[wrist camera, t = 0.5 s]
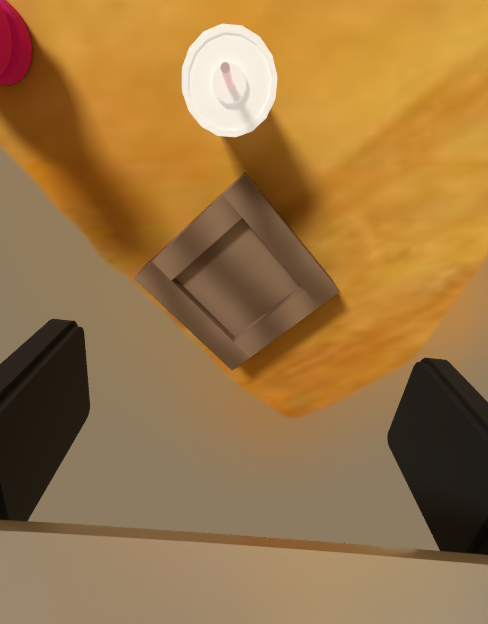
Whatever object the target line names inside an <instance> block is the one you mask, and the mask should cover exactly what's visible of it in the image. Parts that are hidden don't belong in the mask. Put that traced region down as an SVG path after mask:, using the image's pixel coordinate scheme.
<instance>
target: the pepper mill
mask: <svg viewBox="0 0 488 624" xmlns="http://www.w3.org/2000/svg"><path fill="white" fill-rule="evenodd" d="M31 60H32V44H31V39H30V35H29V32H28V29H27V27H26V25H25V23H24V21H23V19H22V18H21V16H20V15H19V14H18V12H17V11H16V10H15V9H14V8H13V7H12V6H11V5H10V4H9V3H8V2H7V1H6V0H0V86H8V85H12V84H15V83H17V82H19V81H20V80H21V79H22V78H23V77H24V76H25V75H26V74H27V72H28V70H29V67H30V65H31Z"/></svg>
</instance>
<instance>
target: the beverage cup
mask: <svg viewBox="0 0 488 624" xmlns="http://www.w3.org/2000/svg"><path fill="white" fill-rule="evenodd" d="M276 86H277V73H276V69H275V65H274V61H273V57H272V54H271V53H270V51H269V50H268V48H267V47H266V45H265V44H264V42H263V41H262V39H261V38H260V37H259V36H258V35H256V34H255V33H253V32H251V31H250V30H248V29H247V28H245V27H243V26H240V25H230V24H221V25H218V26H216V27H213V28H211V29H209V30H206V31H204V32H203V33H202V34H201V35H200V36H199V37H198V38H197V40H196V41H195V42H194V43H193V44H192V45H191V46H190V47H189V50H188V53H187V56H186V59H185V61H184V64H183V67H182V92H183V95H184V98H185V101H186V104H187V107H188V110H189V112H190V113H191V114H192V115H193V117H194V118H195V119H196V120H197V122H198V123H199V124H200V125H201V127H203V128H205V129H207V130H209V131H210V132H212V133H214V134H216V135H218V136H226V137H238V136H241V135H243V134H246V133H249V132H251V131H253V130H254V129H255V128H256V127H257V126H258V125H259V124H260V123H261V122H263V121H264V120H265V119H266V118H267V115H268V113H269V111H270V109H271V107H272V105H273V103H274V100H275V96H276Z"/></svg>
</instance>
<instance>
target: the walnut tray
mask: <svg viewBox="0 0 488 624" xmlns="http://www.w3.org/2000/svg"><path fill="white" fill-rule="evenodd" d="M134 279H135V280H137V281H138V282H139V283H140V284H141V285H142V286H143V287H144V288H145V289H146V290H147V291H148V292H149V293H150V294H151V295H152V296H154V297H155V298H156V299H157V300H158V301H159V302H160V303H161V304H162V305H163V306H164V307H165V308H166V309H167V310H168V311H169V312H170V313H172V314H173V315H174V316H175V317H176V318H177V319H178V320H179V321H180V322H181V323H182V324H183V325H184V326H185V327H186V328H187V329H189V330H190V331H191V332H192V333H193V334H194V335H195V336H196V337H197V338H198V339H199V340H200V341H201V342H202V343H203V344H204V345H206V346H207V347H208V348H209V349H210V350H211V351H212V352H213V353H214V354H215V355H216V356H217V357H218V358H219V359H220V360H221V361H222V362H224V363H225V364H226V365H227V366H228V367H229V368H230V369H231V370H232V371H233V370H234V369H235V368H237V367H238V366H239V365H241V364H242V363H243V362H245V361H246V360H248V359H249V358H250V357H252V356H253V355H254V354H256V353H257V352H259V351H260V350H261V349H263V348H264V347H265V346H267V345H268V344H269V343H271V342H272V341H274V340H275V339H276V338H278V337H279V336H280V335H282V334H283V333H285V332H286V331H287V330H289V329H290V328H291V327H293V326H294V325H295V324H297V323H298V322H300V321H301V320H302V319H304V318H305V317H306V316H308V315H309V314H310V313H312V312H313V311H315V310H316V309H317V308H319V307H320V306H321V305H323V304H324V303H326V302H327V301H328V300H330V299H331V298H332V297H334V296H335V295H336V294H338V293H339V292H340V291H339V289H338V288H337V286H336V285H335V283H334V282H333V280H332V279H331V277H330V276H329V275H328V274H327V272H326V271H325V270H324V269H323V267H322V266H321V265H320V264H319V263H318V261H317V260H316V259H315V258H314V256H313V255H312V254H311V253H310V251H309V250H308V249H307V248H306V246H305V245H304V244H303V243H302V241H301V240H300V239H299V238H298V237H297V235H296V234H295V233H294V232H293V230H292V229H291V228H290V227H289V225H288V224H287V223H286V222H285V220H284V219H283V218H282V217H281V216H280V214H279V213H278V212H277V211H276V209H275V208H274V207H273V206H272V204H271V203H270V202H269V201H268V199H267V198H266V197H265V196H264V194H263V193H262V192H261V191H260V190H259V188H258V187H257V186H256V185H255V183H254V182H253V181H252V180H251V178H250V177H249V176H248V175H247V173H246V172H244V173H243V174H242V175H241V176H240V177H239V178H238V179H237V180H236V181H235V182H234V183H233V184H232V185H231V186H230V187H228V188H227V189H226V190H225V191H224V192H223V193H222V194H221V195H220V196H219V197H218V198H217V199H216V200H215V201H213V202H212V203H211V204H210V205H209V206H208V207H207V208H206V209H205V210H204V211H203V212H202V213H201V214H200V215H198V216H197V217H196V218H195V219H194V220H193V221H192V222H191V223H190V224H189V225H188V226H187V227H186V228H185V229H184V230H182V231H181V232H180V233H179V234H178V235H177V236H176V237H175V238H174V239H173V240H172V241H171V242H170V243H169V244H167V245H166V246H165V247H164V248H163V249H162V250H161V251H160V252H159V253H158V254H157V255H156V256H155V257H154V258H152V259H151V260H150V261H149V262H148V263H147V264H146V265H145V266H144V267H143V268H142V270H141V271H140V272H139V273H138V274H137V275H136V277H135V278H134Z"/></svg>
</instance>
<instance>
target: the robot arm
mask: <svg viewBox="0 0 488 624" xmlns="http://www.w3.org/2000/svg"><path fill="white" fill-rule="evenodd" d="M89 410H90V400H89V387H88V375H87V364H86V350H85V338H84V330H83V328H82V327H78V325H77V323H76V322H75V321H68V320H59V319H51V320H50V321H48V322H47V323H46V324H45V325H44V326H43V327H42V328H41V329H39V330H38V331H37V332H36V333H35V334H34V335H33V336H32V337H31V338H29V339H28V340H27V341H26V342H25V343H24V344H22V345H21V346H20V347H19V348H18V349H17V350H16V351H15V352H13V353H12V354H11V355H10V356H9V357H8V358H7V359H6V360H4V361H3V362H2V363H1V364H0V624H488V402H487V401H486V400H485V399H484V398H483V397H482V396H481V395H480V394H479V393H478V392H477V391H476V390H475V389H474V387H472V385H471V384H470V383H469V382H468V381H467V380H466V379H465V378H464V377H463V376H462V375H461V374H460V373H459V372H458V371H457V370H456V369H455V368H454V367H453V366H452V365H451V364H450V363H449V362H448V361H447V360H442V359H432V358H424V359H422V360H421V361H420V362H417V363H416V364H415V366H414V367H413V370H412V372H411V375H410V377H409V380H408V383H407V385H406V388H405V391H404V393H403V396H402V398H401V401H400V403H399V406H398V408H397V411H396V414H395V416H394V419H393V421H392V424H391V427H390V429H389V432H388V437H387V438H388V445H389V447H390V449H391V451H392V453H393V455H394V457H395V459H396V461H397V464H398V466H399V468H400V470H401V472H402V474H403V476H404V478H405V480H406V482H407V484H408V486H409V488H410V490H411V492H412V494H413V496H414V498H415V500H416V502H417V504H418V507H419V509H420V511H421V512H422V515H423V516H424V519H425V521H426V523H427V525H428V527H429V529H430V531H431V533H432V535H433V537H434V539H435V541H436V543H437V545H438V547H439V549H440V551H432V550H420V549H408V548H396V547H382V546H371V545H359V544H358V545H357V544H346V543H332V542H319V541H306V540H293V539H280V538H266V537H252V536H240V535H226V534H213V533H199V532H185V531H170V530H156V529H142V528H127V527H111V526H98V525H84V524H68V523H49V522H47V523H46V522H29V521H28V519H29V517H30V516H31V514H32V512H33V511H34V509H35V507H36V505H37V504H38V502H39V500H40V498H41V497H42V495H43V493H44V492H45V490H46V488H47V486H48V485H49V483H50V481H51V480H52V478H53V476H54V474H55V473H56V471H57V469H58V467H59V466H60V464H61V462H62V461H63V459H64V457H65V455H66V454H67V452H68V450H69V449H70V447H71V445H72V443H73V442H74V440H75V438H76V436H77V434H78V433H79V431H80V429H81V428H82V426H83V424H84V423H85V421H86V419H87V417H88V414H89Z"/></svg>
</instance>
